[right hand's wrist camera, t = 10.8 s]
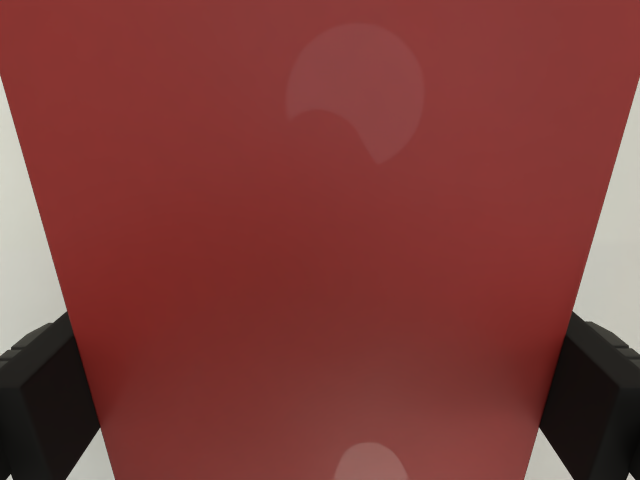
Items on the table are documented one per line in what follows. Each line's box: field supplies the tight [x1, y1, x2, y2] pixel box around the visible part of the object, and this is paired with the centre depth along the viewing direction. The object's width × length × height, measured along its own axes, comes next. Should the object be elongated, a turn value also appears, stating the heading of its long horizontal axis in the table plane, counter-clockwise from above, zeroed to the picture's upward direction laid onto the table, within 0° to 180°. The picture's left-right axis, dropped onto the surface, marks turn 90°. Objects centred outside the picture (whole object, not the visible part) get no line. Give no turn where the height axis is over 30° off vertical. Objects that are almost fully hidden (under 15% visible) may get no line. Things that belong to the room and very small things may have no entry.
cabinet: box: [0, 0, 640, 480], centre depth 13 cm, size 17×11×11 cm, turn 0°
